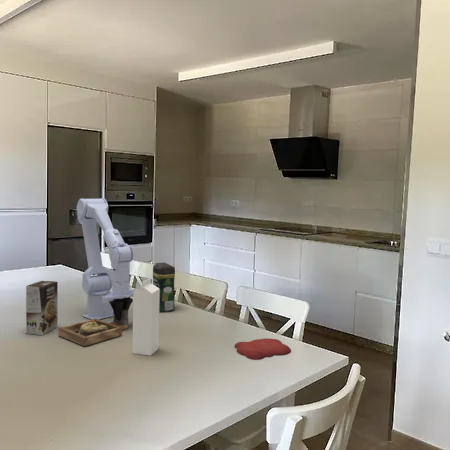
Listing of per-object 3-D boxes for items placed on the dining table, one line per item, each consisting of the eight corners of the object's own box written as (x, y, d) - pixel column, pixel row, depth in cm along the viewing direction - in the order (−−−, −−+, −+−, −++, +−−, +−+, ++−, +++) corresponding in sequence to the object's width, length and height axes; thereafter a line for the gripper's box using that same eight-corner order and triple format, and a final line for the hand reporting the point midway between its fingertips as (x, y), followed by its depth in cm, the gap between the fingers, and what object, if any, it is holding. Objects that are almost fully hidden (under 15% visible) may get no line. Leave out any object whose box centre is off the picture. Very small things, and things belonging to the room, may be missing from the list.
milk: (132, 353, 140) (132, 281, 137) (140, 346, 145) (141, 276, 143) (151, 356, 138) (152, 282, 136) (159, 348, 144) (159, 278, 142)
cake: (92, 344, 148) (91, 328, 147) (71, 338, 153) (70, 323, 152) (115, 334, 156) (114, 318, 155) (94, 328, 161) (93, 313, 161)
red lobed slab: (249, 363, 136) (249, 356, 136) (227, 347, 149) (227, 341, 148) (298, 354, 144) (298, 348, 144) (273, 340, 157) (274, 334, 156)
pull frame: (109, 321, 168) (109, 304, 167) (136, 330, 159) (136, 312, 158) (58, 335, 152) (58, 316, 151) (84, 346, 143) (84, 326, 143)
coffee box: (43, 335, 152) (42, 287, 151) (25, 333, 153) (25, 285, 152) (58, 327, 161) (58, 281, 160) (41, 325, 162) (41, 279, 161)
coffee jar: (149, 307, 189) (150, 261, 187) (167, 305, 193) (168, 260, 191) (157, 313, 181) (158, 266, 179) (176, 311, 185) (177, 264, 183)
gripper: (111, 286, 153) (110, 326, 155) (144, 279, 164) (144, 317, 166) (98, 282, 158) (97, 321, 159) (131, 276, 169) (131, 313, 170)
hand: (120, 319), depth 163 cm, fingers closed on pull frame, 2 cm apart
